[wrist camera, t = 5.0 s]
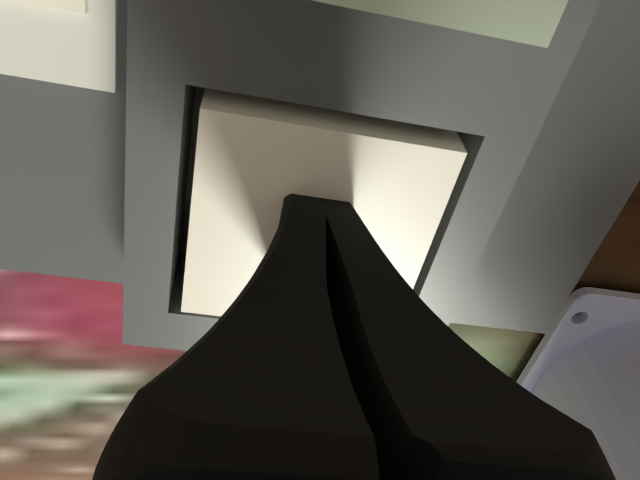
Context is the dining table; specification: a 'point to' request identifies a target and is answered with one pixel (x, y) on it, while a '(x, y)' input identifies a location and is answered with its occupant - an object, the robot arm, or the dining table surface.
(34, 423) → the dining table surface
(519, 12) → the sage key
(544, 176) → the keypad
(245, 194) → the cream key
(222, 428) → the robot arm
